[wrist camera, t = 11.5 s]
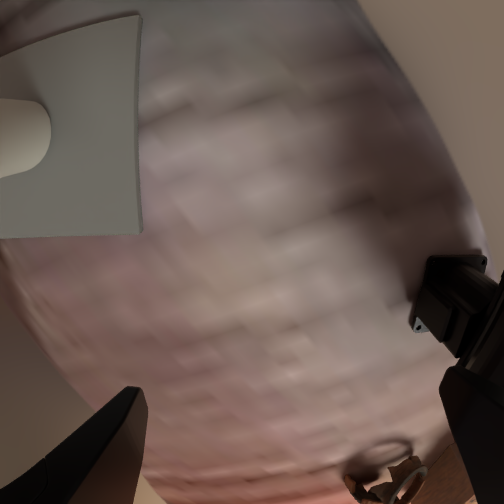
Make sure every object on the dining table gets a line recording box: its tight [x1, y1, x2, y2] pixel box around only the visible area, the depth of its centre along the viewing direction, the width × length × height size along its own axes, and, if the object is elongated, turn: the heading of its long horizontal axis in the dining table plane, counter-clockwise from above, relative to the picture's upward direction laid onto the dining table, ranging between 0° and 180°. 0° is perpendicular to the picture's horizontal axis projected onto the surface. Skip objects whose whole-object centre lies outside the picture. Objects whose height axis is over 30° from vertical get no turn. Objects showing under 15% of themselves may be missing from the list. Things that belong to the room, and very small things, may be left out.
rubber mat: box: [0, 15, 143, 239], centre depth 16 cm, size 16×14×1 cm
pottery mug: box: [344, 456, 428, 504], centre depth 29 cm, size 12×10×8 cm
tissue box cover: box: [411, 443, 477, 504], centre depth 30 cm, size 26×14×10 cm, turn 83°
